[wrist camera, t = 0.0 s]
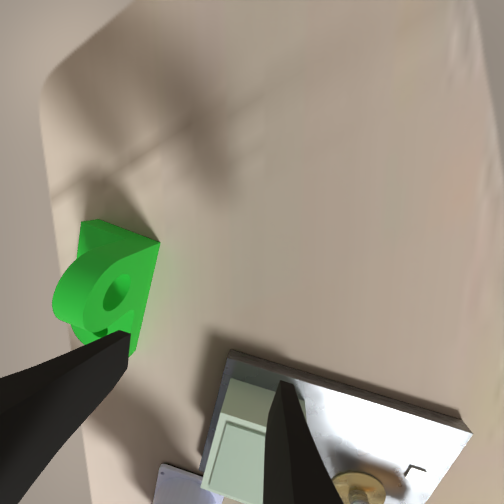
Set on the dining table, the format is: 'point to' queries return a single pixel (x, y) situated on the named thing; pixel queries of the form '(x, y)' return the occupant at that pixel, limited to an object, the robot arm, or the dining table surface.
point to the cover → (240, 444)
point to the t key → (358, 497)
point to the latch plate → (360, 433)
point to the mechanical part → (106, 282)
